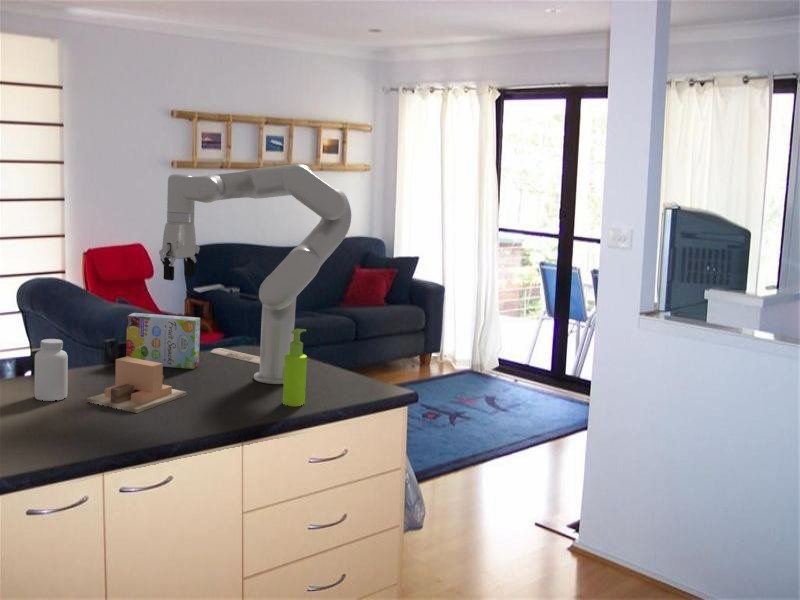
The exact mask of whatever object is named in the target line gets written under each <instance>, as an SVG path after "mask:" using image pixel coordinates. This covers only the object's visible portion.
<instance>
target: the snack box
mask: <svg viewBox="0 0 800 600" xmlns="http://www.w3.org/2000/svg"><path fill="white" fill-rule="evenodd" d="M200 336H201V317H194V316H184V315H183V316H181V315H166V314H157V313H156V314H154V313H153V314H152V313H144V312H143V313H141V312H140V313H139V312H132V313H130V314H129V315H127V316H126V356H125V357H131V358H136V359H141V360H147V361H152V362H158V363H163V368H164V367H165V368H176V369H177V368H178V369H187V370H188V369H189V370H190V369H191V370H194V369H196V368H198V367H199V366H200V344H201V343H200V340H201V339H200V338H201V337H200Z"/></svg>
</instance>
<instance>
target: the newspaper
mask: <svg viewBox="0 0 800 600" xmlns="http://www.w3.org/2000/svg"><path fill="white" fill-rule="evenodd" d="M209 352H210V354H213V355H218V356H223V357H227V358H231V359H236V360H240V361H244V362H249V363H254V364H256V365H260V356H258V355H253V354H249V353H243V352H239V351H235V350H231V349H227V348H221V347H216V348H213V349H212V350H211V351H209Z"/></svg>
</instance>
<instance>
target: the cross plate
mask: <svg viewBox="0 0 800 600" xmlns="http://www.w3.org/2000/svg"><path fill="white" fill-rule="evenodd" d="M163 370H164V367H163V363H158V362H152V361H147V360H141V359H136V358H131V357H126V356H123V357H120V358H116V359H115V379H114V380H115V381H114V382H115V385H112V386H109V387H106V388H104V393H105V396H106V397H111V388H115V387H118V386H121V385H124V384H129V385H134V390H141V391H139V392H136V393H133V394H131V402H135V403H140V404H143V403H146V402H149V401H152V400H155V399H158V398H160V397H163V396H166V395H169V394H172V389H173V386H172V385H167V384H164V385H163V384H162V378H163V376H164V375H163V372H164V371H163Z"/></svg>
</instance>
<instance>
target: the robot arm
mask: <svg viewBox="0 0 800 600" xmlns="http://www.w3.org/2000/svg"><path fill="white" fill-rule="evenodd" d="M167 178H168V179H167V195H166V197H167V198H166V199H167V203H166V205H167V206H166V208H167V209H166V210H167V211H166V223H165V224H164V230H163V235H162V237H163V238H162V244H161V245H162V248H161V249H160V250H159V252H158V255H159V256H160V261H161V264H162V266H163V280H165V281H170V282H171V281H175V266H174V264H175V262H176V260H180V259H185V261H184V276H185V277H189V278H194V277H195V276H196V263H197V259H198V257H199V252H200V250H201V248H200V246H199V245H197V244H196V243H197V242H196V239H197V237H196V227H195V203H196V202H200V203H205V204H206V203H207V204H209V203H210V204H211V203H213V202H216V201H222V200H223V201H224V200H230V199H231V200H232V199H240V198H241V199H242V198H243V199H246V198H247V199H248V198H249V199H255V200H256V199H268V198H275V197H276V198H277V197H278V198H279V197H284V196H285V197H286V196H292V197H293V198H294V199H295V200H297V201H299V202H300V203H301V204H302V205H304V206H305V207H306V208H308V209H309V210H311V211H312V212H313V213H314V214H316V215H317V216H319V217H320V220H319V222H318V224H316V226H315V227H314V228H313V229H312V230H311V232H310V233H309V234H308V235H307V236H306V237H305V238H304V239H303V240H302V241H301V242H300V243H299V244H298V245H297V246H295V247H294V248H293V249H292V250H291V251H290V252H289V253H288V255H287V256H286V257H285V258H284V259H283V260H282V261H281V262H280V263H279V264H278V265H277V266H276V267H275V269H274V270H272V272H271V273H270V274H268V276H266V278H265V279H263V281H262V283H261V284H260V286H259V290H258V298H259V301H260V302H261V304H262V308H261V321H260V323H261V326H260V327H261V328H260V347H259V348H260V350H259V351H260V352H259V353H260V354H259V357H260V364H259V371H257V372H254V375H253V379H254V380H255V381H257V382H258V383H263V384H269V385H284V361H285V355H286V354H289V353H290V342H292V341H293V338H294V334H292V331H293V330H295V322H296V308H297V305H296V304H297V297H298V295H300V293H301V292H302V291H303V290H304V289H305V288H306V287H307V286H308V285H309V284H310V283H311V282H312V281H313V279H314V278H315V277H316V276H317V274H318V273H319V271H320V268H321V267H322V266H323V265H324V263H325V262H326V261H327V259H328V258H330V256H331V255H332V254H333V253H334V252H335V250H337V248H338V247H339V245H341V244H342V242H343V240H345V238H346V236H347V234H348V233H349V230H350V228H351V227H350V226H351V222H352V208H351V205H350V202H349V200H348V197H347V195H346V193H344V191H342V190H341V189H339V188H334V187H333V186H331V185H329V184H328V183H326V182H325V181H323V180H322V179H321V178H319V176H318V175H316V174H315V173H314V172H313V170H312V169H311V168H310V167H309V166H308V165H306V164H304V163H296V164H295V163H294V164H286V165H277V166H267V167H258V168H257V167H256V168H252V169H247V170H244V171H243V170H242V171H237V172H226V173H217V174H215V173H214V174H208V175H201V176H192V175H189V174H177V173H176V174H175V173H174V174H171V175H169V176H168V177H167Z"/></svg>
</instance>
